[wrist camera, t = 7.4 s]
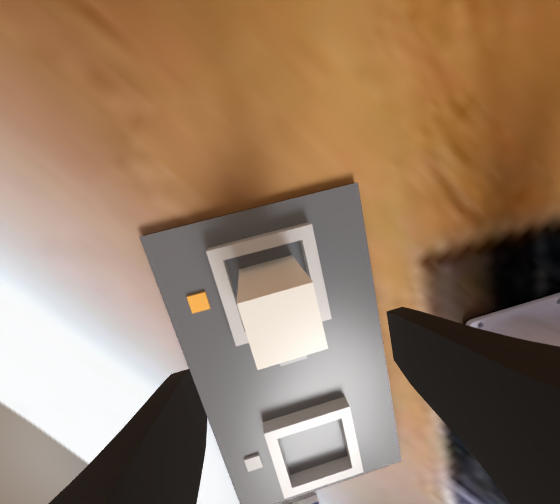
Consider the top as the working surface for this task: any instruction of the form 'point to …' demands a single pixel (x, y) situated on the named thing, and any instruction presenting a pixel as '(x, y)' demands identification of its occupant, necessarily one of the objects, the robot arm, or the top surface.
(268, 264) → the plug
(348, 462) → the port panel
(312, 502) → the hard drive
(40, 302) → the top surface
